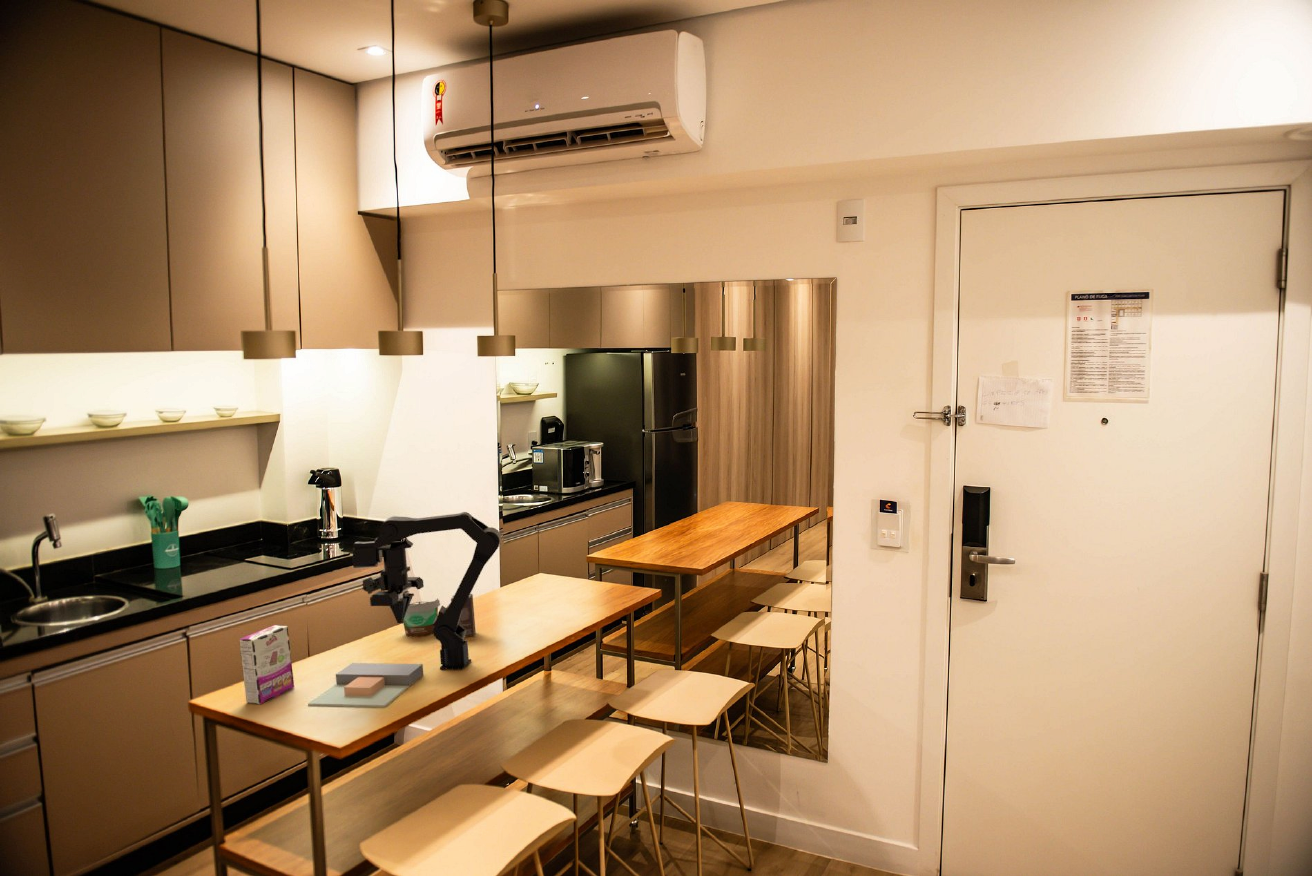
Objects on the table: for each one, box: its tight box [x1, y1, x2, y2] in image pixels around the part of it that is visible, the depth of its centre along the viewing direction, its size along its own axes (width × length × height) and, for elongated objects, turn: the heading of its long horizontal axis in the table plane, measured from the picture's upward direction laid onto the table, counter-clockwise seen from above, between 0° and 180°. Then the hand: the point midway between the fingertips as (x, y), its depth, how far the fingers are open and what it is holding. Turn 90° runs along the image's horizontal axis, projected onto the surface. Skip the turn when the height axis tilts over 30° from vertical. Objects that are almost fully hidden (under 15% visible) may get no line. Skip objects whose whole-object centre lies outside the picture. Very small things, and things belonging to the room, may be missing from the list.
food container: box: [402, 598, 441, 638], centre depth 251 cm, size 12×6×10 cm, turn 105°
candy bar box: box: [238, 624, 295, 705], centre depth 208 cm, size 11×5×16 cm, turn 158°
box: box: [450, 593, 476, 637], centre depth 248 cm, size 6×4×12 cm
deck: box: [335, 662, 424, 688], centre depth 215 cm, size 20×8×3 cm, turn 80°
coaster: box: [344, 677, 385, 696], centre depth 207 cm, size 7×7×2 cm
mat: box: [307, 683, 409, 708], centre depth 205 cm, size 20×12×1 cm, turn 80°
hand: (400, 622), depth 220 cm, fingers closed
